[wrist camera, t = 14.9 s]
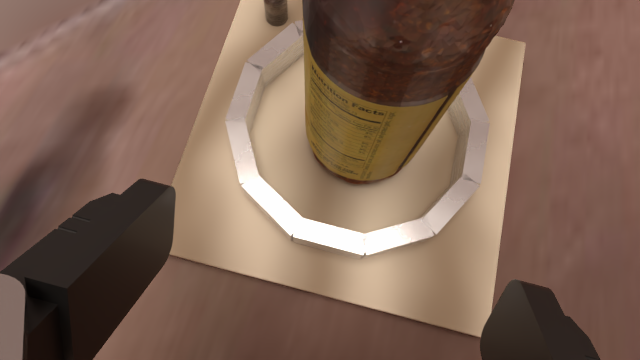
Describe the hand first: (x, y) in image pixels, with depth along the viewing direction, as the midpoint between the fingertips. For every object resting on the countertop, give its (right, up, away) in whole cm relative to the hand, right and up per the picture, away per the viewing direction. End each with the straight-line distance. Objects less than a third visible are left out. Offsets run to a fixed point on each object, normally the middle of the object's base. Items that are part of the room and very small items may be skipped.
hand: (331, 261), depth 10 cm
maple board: (+2, +4, +15) cm, 16 cm away
